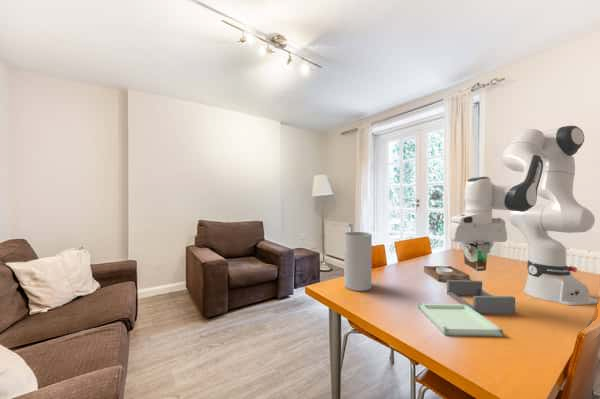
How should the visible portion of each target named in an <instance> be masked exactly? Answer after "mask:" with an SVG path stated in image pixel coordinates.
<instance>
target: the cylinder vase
mask: <svg viewBox="0 0 600 399" xmlns="http://www.w3.org/2000/svg"><path fill="white" fill-rule="evenodd" d="M343 235H344V236H343V239H344V240H343V242H344V246H343V249H344V250H343V251H344V254H343V255H344V256H343V262H344V263H343V264H344V267H343V268H344V270H343V271H344V273H343V274H344V278H343V285H344V287H345V288H346V289H348V290H351V291H354V292H366V291H369V290H371V289H372V287H373V286H372V282H373V280H372V278H373V277H372V276H373V275H372V274H373V273H372V270H373V268H372V267H373V266H372V265H373V264H372V263H373V262H372V256H373V255H372V250H373V248H372V245H373V243H372V242H373V240H372V239H373V238H372V236H373V234H372V233H369V232H364V231H347V232H344V234H343Z"/></svg>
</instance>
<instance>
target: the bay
mask: <svg viewBox="0 0 600 399" xmlns="http://www.w3.org/2000/svg"><path fill="white" fill-rule="evenodd" d="M446 294H447V295H448V296H449V297H451V298H452V299H453V300H455V301H456V302H457V303H458V304H466V305H467V306H469V307H470V308H472V309H473V310H474V311H476V312H477V313H479V314H480V315H516V297H514V296H509V295H508V296H507V295H504V296H502V295H500V296H499V295H498V296H497V295H493V294H491V293H489V292H487V291H486V290H483V281H482V280H470V281H465V280H447V282H446ZM460 296H472V304H471V303H469V302H467V301H466V300H465V299H464V298H462V297H460Z"/></svg>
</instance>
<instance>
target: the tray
mask: <svg viewBox="0 0 600 399" xmlns="http://www.w3.org/2000/svg"><path fill="white" fill-rule="evenodd" d="M417 307H418V310H419V311H420V312H421V313H422V314H423V315H424V316H425V317H426V318H427V319H428V320H429V321H430V322H431V323H432V325H434V326H435V327H436V328H437V329H438V331H440V332H441V333H442V334H443V335H444V336H453V337H454V336H457V337H458V336H459V337H462V336H464V337H466V336H467V337H503V336H504V330H503V329H502V328H501V327H499V326H498V325H497V324H495V323H494V322H492V321H491V320H489V319H488V318H486V317H485V316H483V314H479V313H477V312H476V311H474V310H473V309H472V308H470V307H469V306H467V305H466V304H460V303H422V302H421V303H418V305H417Z"/></svg>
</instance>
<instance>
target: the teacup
mask: <svg viewBox="0 0 600 399" xmlns="http://www.w3.org/2000/svg"><path fill="white" fill-rule="evenodd" d="M436 272H437V273H438V274H452V272H453V270H451V269H448V268H443V267H438V268H436Z"/></svg>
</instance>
